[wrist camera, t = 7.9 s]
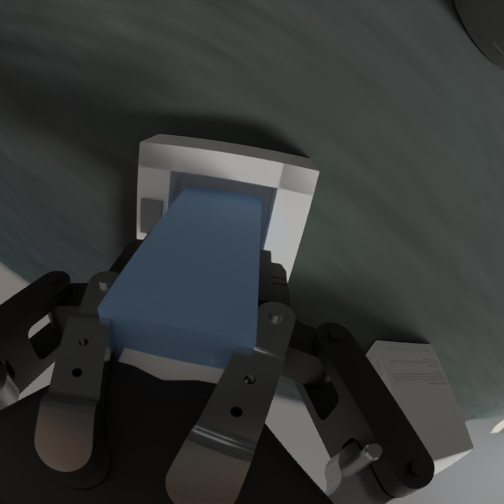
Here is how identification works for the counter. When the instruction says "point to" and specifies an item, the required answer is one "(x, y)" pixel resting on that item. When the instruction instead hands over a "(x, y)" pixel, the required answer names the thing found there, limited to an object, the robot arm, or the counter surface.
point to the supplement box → (423, 398)
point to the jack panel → (229, 185)
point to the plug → (190, 288)
